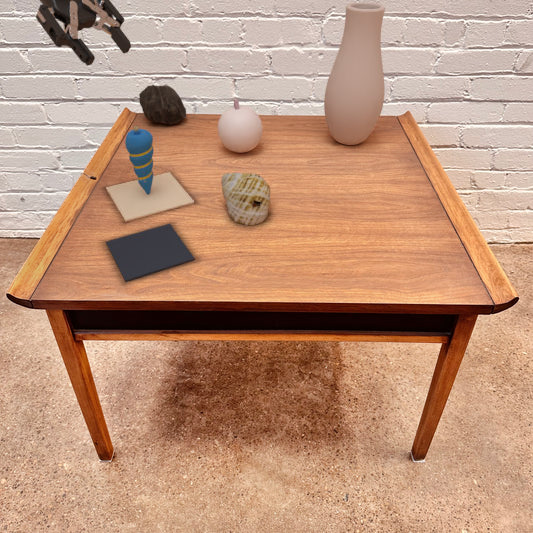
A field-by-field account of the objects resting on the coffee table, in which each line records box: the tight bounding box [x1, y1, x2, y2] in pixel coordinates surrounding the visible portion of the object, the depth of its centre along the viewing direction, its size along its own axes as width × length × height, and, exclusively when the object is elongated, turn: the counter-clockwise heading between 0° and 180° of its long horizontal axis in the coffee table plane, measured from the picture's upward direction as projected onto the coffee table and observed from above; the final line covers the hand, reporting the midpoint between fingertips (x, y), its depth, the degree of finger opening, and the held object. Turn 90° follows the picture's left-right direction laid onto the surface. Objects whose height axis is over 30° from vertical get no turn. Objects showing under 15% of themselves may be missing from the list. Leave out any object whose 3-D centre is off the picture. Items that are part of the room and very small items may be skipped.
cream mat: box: [105, 171, 195, 223], centre depth 98 cm, size 14×14×1 cm
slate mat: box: [105, 223, 196, 283], centre depth 83 cm, size 12×12×1 cm
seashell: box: [220, 172, 271, 226], centre depth 92 cm, size 10×10×10 cm
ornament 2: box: [217, 98, 264, 154], centre depth 111 cm, size 10×10×12 cm
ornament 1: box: [124, 126, 154, 194], centre depth 93 cm, size 5×5×15 cm
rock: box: [138, 84, 187, 125], centre depth 125 cm, size 10×11×10 cm
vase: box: [323, 1, 386, 146], centre depth 110 cm, size 14×14×30 cm
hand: (110, 56), depth 82 cm, fingers open, 8 cm apart
